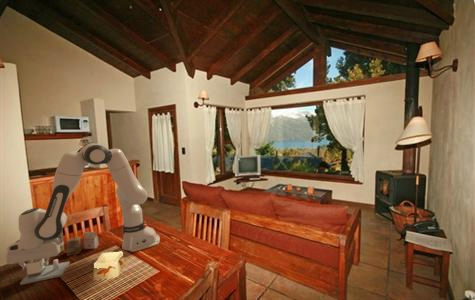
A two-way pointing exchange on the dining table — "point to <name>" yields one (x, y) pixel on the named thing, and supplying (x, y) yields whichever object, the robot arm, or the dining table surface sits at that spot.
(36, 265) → the sleeve
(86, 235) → the grey box
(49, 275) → the pinboard
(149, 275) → the dining table surface
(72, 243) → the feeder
